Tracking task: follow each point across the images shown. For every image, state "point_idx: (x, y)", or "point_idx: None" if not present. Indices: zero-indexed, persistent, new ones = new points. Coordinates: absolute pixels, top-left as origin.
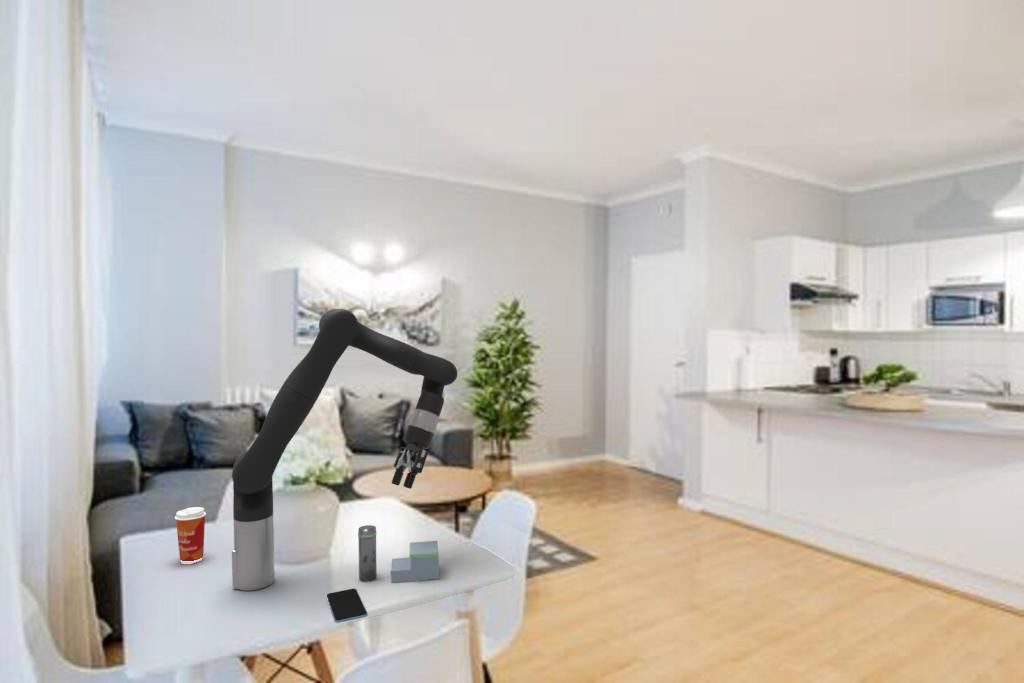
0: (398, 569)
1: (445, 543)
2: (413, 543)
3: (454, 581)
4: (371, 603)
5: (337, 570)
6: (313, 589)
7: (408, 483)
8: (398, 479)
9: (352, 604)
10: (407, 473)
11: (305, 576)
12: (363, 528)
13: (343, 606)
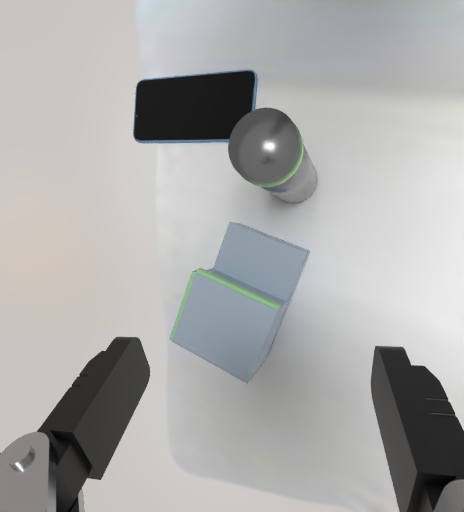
0: (229, 242)
1: None
2: (264, 313)
3: None
4: (173, 159)
5: (393, 112)
6: (302, 41)
7: (90, 366)
8: (385, 417)
9: (178, 119)
10: (77, 423)
11: (404, 17)
12: (266, 129)
13: (179, 100)
